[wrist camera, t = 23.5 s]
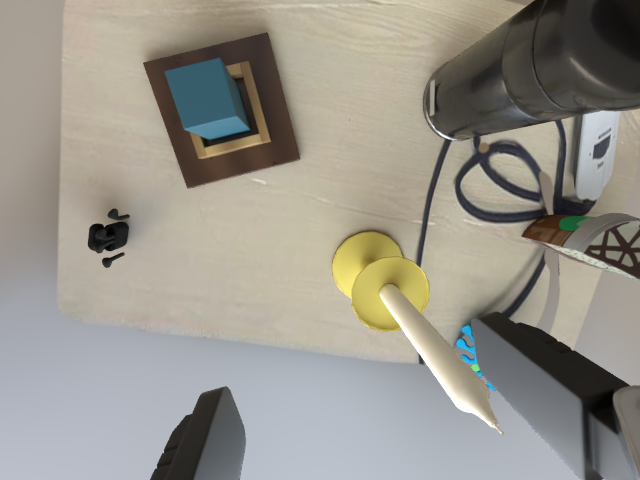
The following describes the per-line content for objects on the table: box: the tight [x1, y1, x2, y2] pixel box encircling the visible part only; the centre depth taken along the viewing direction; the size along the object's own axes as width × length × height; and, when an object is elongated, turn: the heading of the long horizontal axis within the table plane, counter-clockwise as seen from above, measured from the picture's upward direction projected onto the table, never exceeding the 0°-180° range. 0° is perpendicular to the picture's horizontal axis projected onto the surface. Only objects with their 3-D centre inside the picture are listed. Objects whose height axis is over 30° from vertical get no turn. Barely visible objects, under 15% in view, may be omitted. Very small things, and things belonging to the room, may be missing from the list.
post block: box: [165, 58, 251, 141], centre depth 30 cm, size 5×5×9 cm
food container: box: [521, 213, 640, 281], centre depth 37 cm, size 12×6×10 cm, turn 67°
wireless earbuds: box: [88, 209, 130, 268], centre depth 34 cm, size 7×2×5 cm, turn 165°
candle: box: [332, 231, 504, 435], centre depth 28 cm, size 10×10×27 cm
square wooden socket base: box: [143, 33, 300, 188], centre depth 34 cm, size 14×14×2 cm
